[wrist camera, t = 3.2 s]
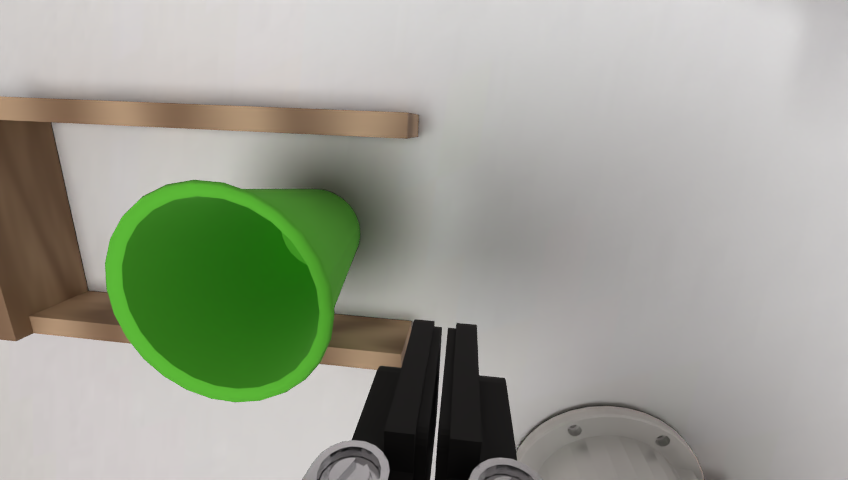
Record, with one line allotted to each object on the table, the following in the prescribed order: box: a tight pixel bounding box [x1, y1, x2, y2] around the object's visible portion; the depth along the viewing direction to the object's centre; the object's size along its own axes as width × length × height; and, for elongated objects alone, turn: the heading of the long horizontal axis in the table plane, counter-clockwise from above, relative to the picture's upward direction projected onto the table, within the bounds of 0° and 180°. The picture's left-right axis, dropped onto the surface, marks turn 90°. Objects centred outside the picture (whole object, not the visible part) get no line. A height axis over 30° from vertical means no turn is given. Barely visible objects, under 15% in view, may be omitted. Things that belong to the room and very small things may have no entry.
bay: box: [0, 97, 419, 370], centre depth 23 cm, size 28×14×5 cm, turn 88°
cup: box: [105, 180, 360, 402], centre depth 20 cm, size 9×9×11 cm
